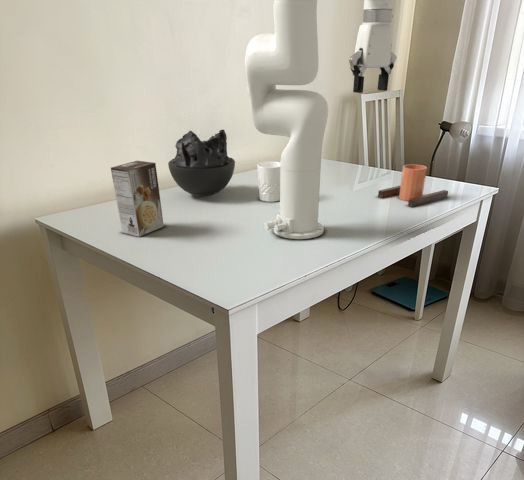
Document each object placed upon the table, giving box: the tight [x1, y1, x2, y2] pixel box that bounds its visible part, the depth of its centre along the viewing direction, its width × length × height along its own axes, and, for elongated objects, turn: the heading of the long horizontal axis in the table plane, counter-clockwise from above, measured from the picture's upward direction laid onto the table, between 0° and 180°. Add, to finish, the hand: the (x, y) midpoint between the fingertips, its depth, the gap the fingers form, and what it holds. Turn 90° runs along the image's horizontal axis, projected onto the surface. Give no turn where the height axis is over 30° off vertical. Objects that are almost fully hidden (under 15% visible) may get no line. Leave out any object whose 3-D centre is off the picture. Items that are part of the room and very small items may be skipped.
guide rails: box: [377, 185, 449, 208], centre depth 149 cm, size 16×13×2 cm
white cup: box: [256, 161, 280, 203], centre depth 147 cm, size 8×8×10 cm
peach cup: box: [398, 163, 428, 202], centre depth 147 cm, size 7×7×9 cm
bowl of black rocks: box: [167, 129, 236, 197], centre depth 149 cm, size 20×20×19 cm
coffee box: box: [110, 160, 165, 237], centre depth 123 cm, size 9×6×16 cm
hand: (370, 91), depth 139 cm, fingers open, 9 cm apart
